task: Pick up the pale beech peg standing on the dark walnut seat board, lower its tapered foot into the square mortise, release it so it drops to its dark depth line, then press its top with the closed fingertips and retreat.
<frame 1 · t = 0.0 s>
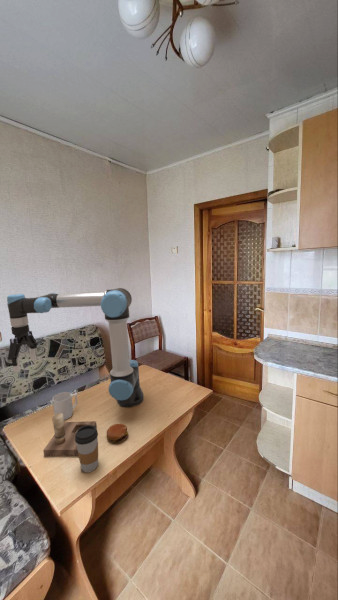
hand: (25, 365, 126), 28 cm above the table, fingers open, 13 cm apart
burger: (117, 437, 112), on the table
peg: (60, 441, 106), point 3 cm above the table, touching board
coffee cup: (89, 466, 96), on the table
board: (72, 440, 111), on the table
mug: (67, 415, 130), on the table
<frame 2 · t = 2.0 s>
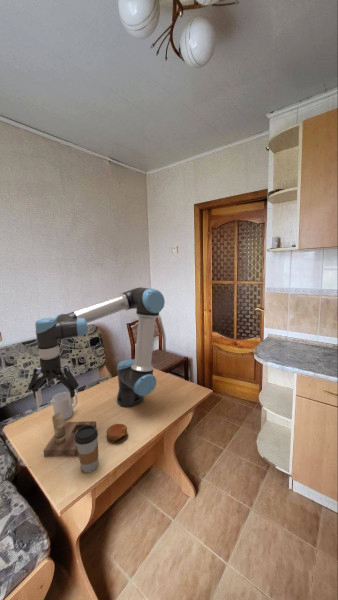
hand: (55, 404, 104), 20 cm above the table, fingers open, 13 cm apart
nothing on the table moved.
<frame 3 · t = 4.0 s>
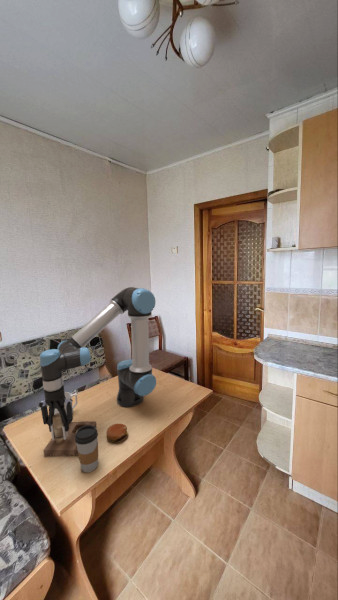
hand: (60, 437, 106), 5 cm above the table, fingers closed on peg, 4 cm apart
peg: (60, 441, 106), point 3 cm above the table, touching board, gripper
everything else where it was.
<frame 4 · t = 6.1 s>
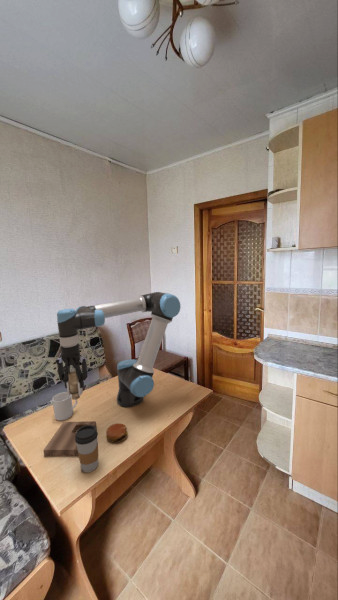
hand: (75, 394, 111), 20 cm above the table, fingers closed on peg, 4 cm apart
peg: (75, 397, 111), point 18 cm above the table, touching gripper
everything else where it was.
when the fingers open (4 cm above the table, at t = 8.4 s): peg drops 3 cm, resting in board.
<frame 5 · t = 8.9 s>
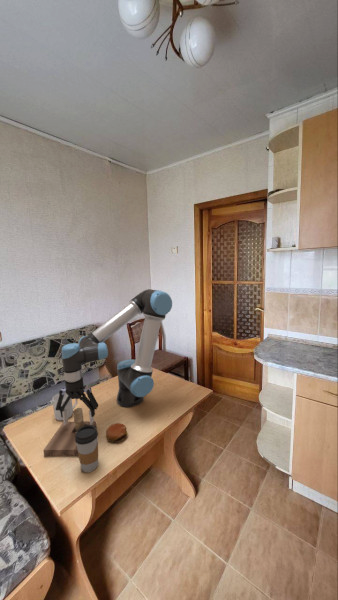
hand: (79, 422, 114), 6 cm above the table, fingers open, 11 cm apart
peg: (80, 434, 114), resting in board
everything else where it was.
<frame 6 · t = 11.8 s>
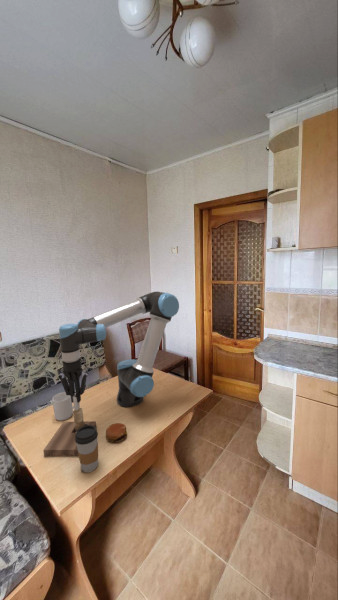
hand: (77, 408, 112), 13 cm above the table, fingers closed
nothing on the table moved.
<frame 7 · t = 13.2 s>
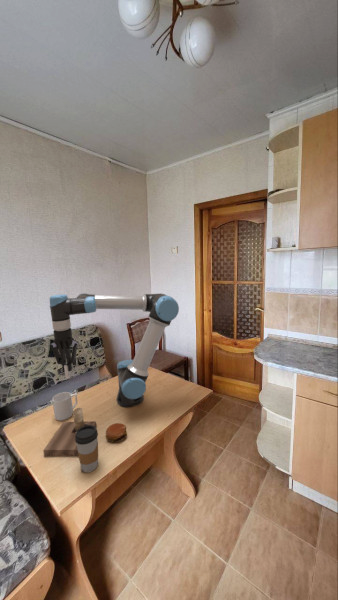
hand: (68, 377, 116), 26 cm above the table, fingers closed
nothing on the table moved.
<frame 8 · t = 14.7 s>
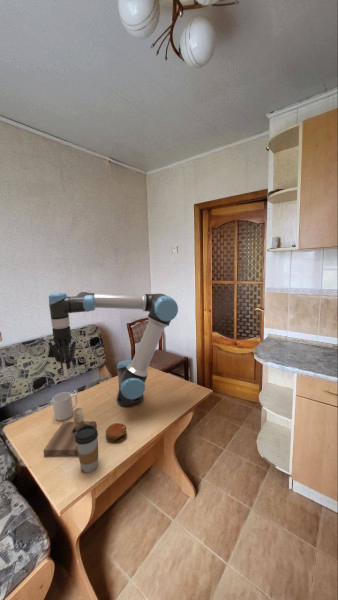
hand: (67, 375, 116), 26 cm above the table, fingers closed
nothing on the table moved.
at the end: peg 0.1 cm from the target spot on the board, point 0.0 cm above the board's base; peg tilted 0°; the gripper is holding nothing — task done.
